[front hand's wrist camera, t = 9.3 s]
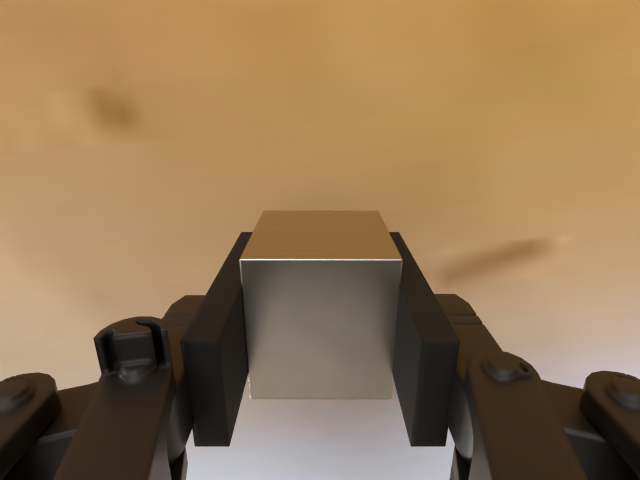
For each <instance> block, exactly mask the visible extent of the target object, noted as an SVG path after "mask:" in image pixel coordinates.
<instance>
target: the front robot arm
mask: <svg viewBox="0 0 640 480" xmlns="http://www.w3.org/2000/svg"><path fill="white" fill-rule="evenodd" d="M252 233H253V232H241V234H240V236H239V238H238V239H237V241H236V243H235V245H234V246H233V248H232V250H231V252H230V253H229V255H228V257H227V259H226V260H225V262H224V264H223V266H222V268H221V269H220V271H219V273H218V275H217V276H216V278H215V280H214V282H213V283H212V285H211V287H210V289H209V291H208V292H207V294H206V295H185V296H184V297H182V298H181V299H179V300H178V301H176V302H175V303H173V304H172V305H171V306H170V308H169V309H168V311H167V312H166V314H165V316H164V317H163V318H162V319H159V318H155V317H134V318H128V319H124V320H121V321H118V322H116V323H113V324H111V325H109V326H107V327H106V328H104V329H102V330H101V331H100V332H99V333H98V334H97V335H96V336H95V337H94V343H95V347H96V351H97V356H98V360H99V365H100V369H101V373H102V375H101V377H100V379H99V381H98V382H96V383H92V384H88V385H84V386H79V387H74V388H69V389H64V390H60V391H58V390H57V386H56V383H55V380H54V379H53V378H52V377H51V376H50V375H48V374H43V373H28V374H21V375H16V376H15V377H14V376H13V377H10V378H7V379H5V380H3V381H1V382H0V480H186V473H187V465H188V462H187V454H186V448H185V445H186V443H187V440H188V438H189V435H190V432H191V430H192V429H193V436H194V443H195V446H230V442H231V438H232V434H233V430H234V426H235V422H236V418H237V415H238V411H239V407H240V403H241V399H242V395H243V391H244V387H245V383H246V379H247V376H248V367H247V353H246V340H245V326H244V313H243V299H242V286H241V274H240V258H241V256H242V253H243V251H244V249H245V247H246V245H247V243H248V241H249V239H250V237H251V235H252ZM389 233H390V235H391V237H392V239H393V241H394V243H395V245H396V247H397V249H398V251H399V253H400V255H401V257H402V260H403V262H402V275H401V285H400V286H399V295H398V308H397V321H396V334H395V348H394V361H393V378H394V382H395V386H396V390H397V394H398V398H399V402H400V406H401V409H402V413H403V417H404V421H405V425H406V429H407V433H408V437H409V441H410V444H411V446H446V439H447V431H448V427H449V429H450V432H451V435H452V437H453V440H454V442H455V448H454V454H453V461H452V467H451V474H450V480H640V379H638V378H636V377H634V376H631V375H628V374H627V375H626V374H624V373H619V372H610V371H599V372H594V373H591V374H590V375H589V376H588V377H587V378H586V381H585V384H584V388H583V389H580V388H575V387H570V386H565V385H561V384H556V383H551V382H548V381H544V380H541V379H540V376H539V374H538V373H537V372H536V370H535V369H534V368H533V366H532V365H530V364H529V363H528V362H526V361H525V360H523V359H522V358H520V357H518V356H515V355H513V354H510V353H508V352H503V351H502V350H501V348H500V347H499V345H498V344H497V343H496V341H495V340H494V338H493V337H492V335H491V334H490V333H489V331H488V330H487V328H486V327H485V326H484V325H482V321H481V320H480V319H479V317H478V316H476V313H475V311H474V310H473V309H472V307H471V306H470V304H469V303H468V302H466V301H465V300H463V299H462V298H460V297H459V296H457V295H455V294H434V293H433V292H432V290H431V288H430V286H429V285H428V283H427V281H426V279H425V278H424V276H423V274H422V272H421V271H420V269H419V267H418V265H417V263H416V262H415V260H414V258H413V256H412V255H411V253H410V251H409V249H408V248H407V246H406V244H405V242H404V241H403V239H402V237H401V235H400V233H399V232H389Z"/></svg>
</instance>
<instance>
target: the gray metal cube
mask: <svg viewBox="0 0 640 480" xmlns="http://www.w3.org/2000/svg"><path fill="white" fill-rule="evenodd" d="M402 262H403V260H402V257H401V255H400V253H399V251H398V249H397V247H396V245H395V243H394V241H393V239H392V237H391V235H390V233H389V231H388V229H387V227H386V225H385V223H384V221H383V219H382V217H381V215H380V213H379V211H263V213H262V215H261V217H260V219H259V221H258V223H257V225H256V227H255V229H254V231H253V233H252V235H251V237H250V239H249V241H248V243H247V245H246V247H245V249H244V251H243V253H242V256H241V258H240V274H241V286H242V299H243V313H244V326H245V340H246V353H247V367H248V382H249V395H250V399H392V391H393V361H394V348H395V334H396V321H397V308H398V295H399V286H400V285H401V275H402Z"/></svg>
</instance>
